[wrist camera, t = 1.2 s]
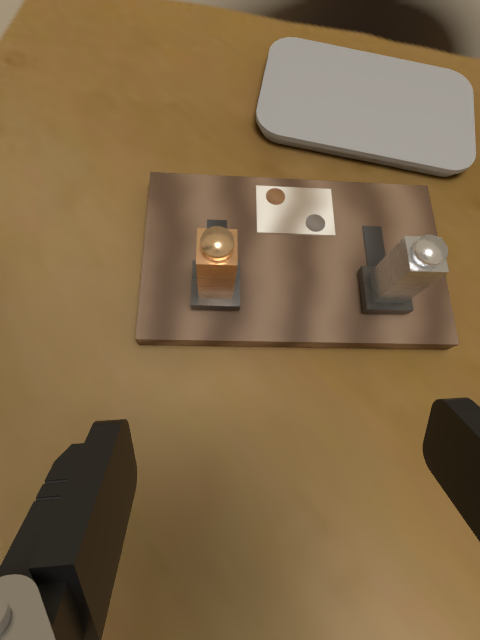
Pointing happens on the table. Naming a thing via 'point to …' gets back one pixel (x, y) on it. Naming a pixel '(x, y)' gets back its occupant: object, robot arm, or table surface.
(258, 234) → the switch board
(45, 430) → the table surface
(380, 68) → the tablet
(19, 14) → the table surface
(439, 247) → the grey switch
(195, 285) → the copper switch
